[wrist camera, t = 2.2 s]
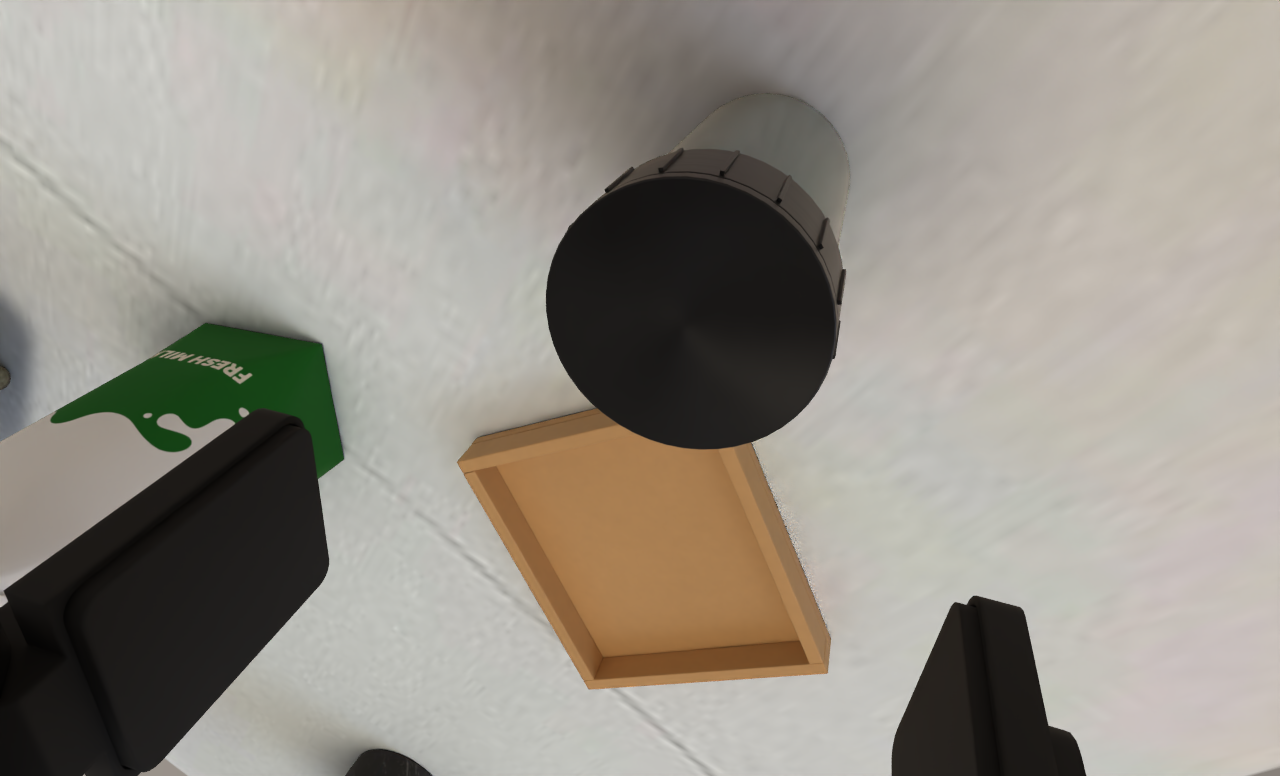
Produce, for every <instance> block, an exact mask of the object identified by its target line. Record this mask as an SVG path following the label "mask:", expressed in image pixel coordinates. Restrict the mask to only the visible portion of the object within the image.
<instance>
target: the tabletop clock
mask: <svg viewBox="0 0 1280 776" xmlns="http://www.w3.org/2000/svg"><path fill="white" fill-rule="evenodd" d="M10 379H11V378H10V373H9V372H8V370H7V369H5V368H4V367H2V366H0V390H2V389H4V388H5V387H7V385H8V384H9V383H10Z"/></svg>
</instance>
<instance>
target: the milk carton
mask: <svg viewBox="0 0 1280 776" xmlns="http://www.w3.org/2000/svg"><path fill="white" fill-rule="evenodd" d="M260 408H266V409H269V410H273V411H277V412H281V413H285V414H288V415H292V416H296V417H298V418H300V419H301V421H302V422H303V424H304V427H305V429H306V430H308V431H309V432H310V433H311V436H312V442H313V449H314V456H315V463H316V470H317V477H318V479H319V478H320V477H321V476H323V475H324V474H325V473H327V472H328V471H329V470H331V469H332V468H333V467H334V466H336V465H337V464H338V463H340V462H341V461H342V460H344V456H343V451H342V446H341V441H340V436H339V431H338V425H337V420H336V415H335V410H334V405H333V400H332V395H331V390H330V384H329V379H328V374H327V369H326V364H325V359H324V354H323V349H322V344H318V343H313V342H307V341H302V340H296V339H291V338H285V337H280V336H274V335H269V334H263V333H258V332H252V331H247V330H241V329H236V328H230V327H225V326H219V325H214V324H208V323H205V324H203V325H201V326H200V327H198V328H197V329H195V330H194V331H192V332H190V333H189V334H187V335H186V336H184V337H183V338H181V339H179V340H178V341H176V342H175V343H173V344H171V345H170V346H168V347H167V348H165V349H164V350H162V351H160V352H159V353H157V354H156V355H154V356H153V357H151V358H149V359H148V360H146V361H144V362H143V363H141V364H139V365H137V366H136V367H134V368H132V369H130V370H128V371H127V372H125V373H123V374H121V375H119V376H118V377H116V378H114V379H112V380H110V381H109V382H107V383H105V384H103V385H101V386H100V387H98V388H96V389H94V390H92V391H91V392H89V393H87V394H85V395H83V396H82V397H80V398H78V399H76V400H74V401H73V402H71V403H69V404H67V405H65V406H64V407H62V408H60V409H58V410H56V411H55V412H53V413H51V414H49V415H47V416H46V417H44V418H42V419H40V420H38V421H37V422H35V423H33V424H31V425H29V426H28V427H26V428H24V429H22V430H20V431H19V432H17V433H15V434H13V435H11V436H10V437H8V438H6V439H4V440H2V441H1V442H0V607H2V606H3V605H4V604H6V603H7V602H8V600H7V598H6V596H5V593H4V590H5V589H6V588H8V587H9V586H11V585H12V584H13V583H15V582H16V581H17V580H19V579H20V578H22V577H23V576H24V575H26V574H27V573H29V572H30V571H31V570H33V569H34V568H36V567H37V566H38V565H40V564H41V563H42V562H44V561H45V560H47V559H48V558H49V557H51V556H52V555H54V554H55V553H56V552H58V551H59V550H61V549H62V548H63V547H65V546H66V545H68V544H69V543H70V542H72V541H73V540H74V539H76V538H77V537H79V536H80V535H81V534H83V533H84V532H86V531H87V530H88V529H90V528H91V527H93V526H94V525H95V524H97V523H98V522H99V521H101V520H102V519H104V518H105V517H106V516H108V515H109V514H111V513H112V512H113V511H115V510H116V509H118V508H119V507H120V506H122V505H123V504H125V503H126V502H127V501H129V500H130V499H131V498H133V497H134V496H136V495H137V494H138V493H140V492H141V491H143V490H144V489H145V488H147V487H148V486H150V485H151V484H152V483H154V482H155V481H157V480H158V479H159V478H161V477H162V476H163V475H165V474H166V473H168V472H169V471H170V470H172V469H173V468H175V467H176V466H177V465H179V464H180V463H182V462H183V461H184V460H186V459H187V458H188V457H190V456H191V455H193V454H194V453H195V452H197V451H198V450H200V449H201V448H202V447H204V446H205V445H207V444H208V443H209V442H211V441H212V440H214V439H215V438H216V437H218V436H219V435H220V434H222V433H223V432H225V431H226V430H227V429H229V428H230V427H232V426H233V425H234V424H236V423H237V422H239V421H240V420H241V419H243V418H244V417H245V416H247V415H248V414H250V413H251V412H253V411H255V410H257V409H260Z"/></svg>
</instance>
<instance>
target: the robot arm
mask: <svg viewBox="0 0 1280 776" xmlns="http://www.w3.org/2000/svg"><path fill="white" fill-rule="evenodd" d="M328 567H329V556H328V549H327V541H326V534H325V527H324V520H323V513H322V506H321V499H320V492H319V484H318V477H317V470H316V463H315V456H314V449H313V442H312V436H311V433H310V432H309V431H308V430H306V429H305V427H304V424H303V422H302V421H301V419H300V418H298V417H296V416H292V415H288V414H285V413H281V412H277V411H273V410H269V409H266V408H260V409H257V410H255V411H253V412H251V413H250V414H248V415H247V416H245V417H244V418H243V419H241V420H240V421H239V422H237V423H236V424H234V425H233V426H232V427H230V428H229V429H227V430H226V431H225V432H223V433H222V434H220V435H219V436H218V437H216V438H215V439H214V440H212V441H211V442H209V443H208V444H207V445H205V446H204V447H202V448H201V449H200V450H198V451H197V452H195V453H194V454H193V455H191V456H190V457H188V458H187V459H186V460H184V461H183V462H182V463H180V464H179V465H177V466H176V467H175V468H173V469H172V470H170V471H169V472H168V473H166V474H165V475H163V476H162V477H161V478H159V479H158V480H157V481H155V482H154V483H152V484H151V485H150V486H148V487H147V488H145V489H144V490H143V491H141V492H140V493H138V494H137V495H136V496H134V497H133V498H131V499H130V500H129V501H127V502H126V503H125V504H123V505H122V506H120V507H119V508H118V509H116V510H115V511H113V512H112V513H111V514H109V515H108V516H106V517H105V518H104V519H102V520H101V521H99V522H98V523H97V524H95V525H94V526H93V527H91V528H90V529H88V530H87V531H86V532H84V533H83V534H81V535H80V536H79V537H77V538H76V539H74V540H73V541H72V542H70V543H69V544H68V545H66V546H65V547H63V548H62V549H61V550H59V551H58V552H56V553H55V554H54V555H52V556H51V557H49V558H48V559H47V560H45V561H44V562H42V563H41V564H40V565H38V566H37V567H36V568H34V569H33V570H31V571H30V572H29V573H27V574H26V575H24V576H23V577H22V578H20V579H19V580H17V581H16V582H15V583H13V584H12V585H11V586H9V587H8V588H6V589H5V590H4V593H5V596H6V598H7V600H8V602H7V603H6V604H4V605H3V606H2V607H0V776H83V775H84V774H85V775H86V776H138V775H139V774H140V773H141V772H147V771H150V770H151V769H153V768H154V767H156V766H157V765H158V764H159V763H160V762H161V761H162V760H163V759H164V758H165V757H166V756H167V755H168V753H169V752H170V751H171V750H172V749H173V748H174V747H175V746H176V745H177V743H178V742H179V741H180V740H181V739H182V738H183V737H184V736H185V735H186V733H187V732H188V731H189V730H190V729H191V728H192V727H193V726H194V725H195V723H196V722H197V721H198V720H199V719H200V718H201V717H202V716H203V715H204V713H205V712H206V711H207V710H208V709H209V708H210V707H211V706H212V705H213V703H214V702H215V701H216V700H217V699H218V698H219V697H220V696H221V695H222V693H223V692H224V691H225V690H226V689H227V688H228V687H229V686H230V685H231V683H232V682H233V681H234V680H235V679H236V678H237V677H238V676H239V675H240V673H241V672H242V671H243V670H244V669H245V668H246V667H247V666H248V665H249V663H250V662H251V661H252V660H253V659H254V658H255V657H256V656H257V655H258V653H259V652H260V651H261V650H262V649H263V648H264V647H265V646H266V645H267V643H268V642H269V641H270V640H271V639H272V638H273V637H274V636H275V635H276V633H277V632H278V631H279V630H280V629H281V628H282V627H283V626H284V625H285V623H286V622H287V621H288V620H289V619H290V618H291V617H292V616H293V614H294V613H295V612H296V611H297V610H298V609H299V608H300V607H301V606H302V604H303V603H304V602H305V601H306V600H307V599H308V598H309V597H310V596H311V594H312V593H313V592H314V591H315V590H316V589H317V588H318V587H319V586H320V584H321V583H322V582H323V580H324V578H325V576H326V574H327V571H328ZM892 776H1086V773H1085V769H1084V765H1083V761H1082V757H1081V753H1080V750H1079V747H1078V744H1077V742H1076V740H1075V738H1074V737H1073V736H1072V734H1071V733H1070V732H1067V731H1064V730H1061V729H1058V728H1054V727H1051V726H1048V722H1047V717H1046V712H1045V708H1044V703H1043V698H1042V693H1041V688H1040V684H1039V679H1038V674H1037V669H1036V665H1035V660H1034V655H1033V650H1032V646H1031V641H1030V636H1029V631H1028V627H1027V622H1026V617H1025V614H1024V611H1023V610H1022V609H1021V608H1020V607H1017V606H1013V605H1010V604H1006V603H1002V602H998V601H994V600H991V599H987V598H983V597H979V596H973V597H972V598H971V599H970V600H969V602H968V603H967V605H965V604H961V603H957V602H955V603H954V604H953V605H952V606H951V608H950V610H949V613H948V615H947V617H946V619H945V622H944V624H943V626H942V628H941V631H940V633H939V635H938V638H937V640H936V642H935V644H934V647H933V649H932V651H931V654H930V656H929V658H928V660H927V663H926V665H925V667H924V670H923V672H922V674H921V676H920V679H919V681H918V683H917V685H916V688H915V690H914V692H913V695H912V697H911V699H910V701H909V704H908V706H907V708H906V711H905V713H904V715H903V717H902V720H901V722H900V724H899V727H898V729H897V732H896V734H895V738H894V743H893V749H892Z"/></svg>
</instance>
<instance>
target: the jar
mask: <svg viewBox="0 0 1280 776" xmlns="http://www.w3.org/2000/svg"><path fill="white" fill-rule="evenodd" d="M679 148H683V149H684V150H689V149H719V150H728V151H732V152H735V151H736V150H739V151H740V154H744V155H748V156H750V157H753V158H755V159H758V160H761V161H763V162H765V163H767V164H769V165H771V166H772V167H774V168H776V169H778V170H780V171H781V172H783V173H784V174H785V175H787V176H788V175H791V176H792V180H793V181H795V182H796V183H797V184H798V185H799V186H800V187H801V188H802V189H803V190H804V191H805V192H806V193H807V194H808V195H809V196H810V197H811V198H812V199H813V201H814V202H815V203H816V204H817V206H818V207H819V208H820V210H821V211H822V213H823V214H824V216H825V218H827V217H828V218H829V219H830V224H829V225H830V227H831V229H832V231H833V234H834V236H835V239H836V241H837V244H838V246H839V241H840V235H841V230H842V225H843V220H844V214H845V209H846V204H847V198H848V193H849V187H850V168H849V161H848V157H847V152H846V150H845V147H844V145H843V142H842V140H841V138H840V136H839V135H838V133H837V131H836V130H835V128H834V127H833V126H832V124H831V123H830V122H829V121H828V120H827V119H826V118H825V117H824V116H823V115H822V114H821V113H820V112H818V111H817V110H816V109H814V108H813V107H812V106H810V105H808V104H806V103H804V102H803V101H800V100H798V99H795V98H793V97H789V96H785V95H781V94H771V93H762V94H753V95H747V96H743V97H740V98H737V99H734V100H732V101H730V102H728V103H726V104H724V105H723V106H721V107H720V108H718V109H717V110H715V111H714V112H713V113H712V114H710V115H709V116H708V117H707V118H706V119H705V120H704V121H703V122H702V123H701V124H699V125H698V126H697V127H696V128H695V129H694V130H693V131H692V132H691V133H690V134H689V135H688V136H687V137H685V138H684V139H683V140H682V141H681V142H680V143H679V144H678V145H677V146H676V147H675V148H674V149H673V150H671V151H670V152H669V153H672V152H676V151H677V150H678V149H679ZM669 153H668V154H669Z"/></svg>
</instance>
